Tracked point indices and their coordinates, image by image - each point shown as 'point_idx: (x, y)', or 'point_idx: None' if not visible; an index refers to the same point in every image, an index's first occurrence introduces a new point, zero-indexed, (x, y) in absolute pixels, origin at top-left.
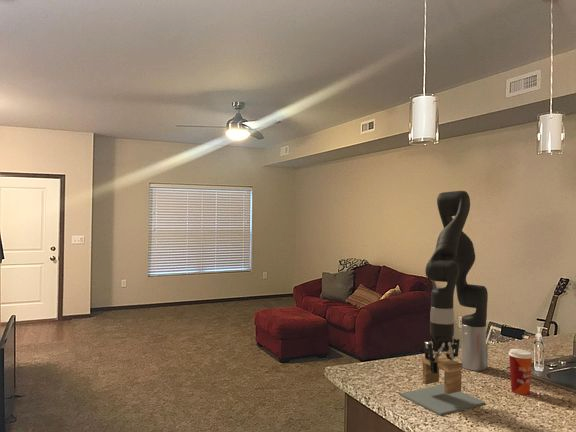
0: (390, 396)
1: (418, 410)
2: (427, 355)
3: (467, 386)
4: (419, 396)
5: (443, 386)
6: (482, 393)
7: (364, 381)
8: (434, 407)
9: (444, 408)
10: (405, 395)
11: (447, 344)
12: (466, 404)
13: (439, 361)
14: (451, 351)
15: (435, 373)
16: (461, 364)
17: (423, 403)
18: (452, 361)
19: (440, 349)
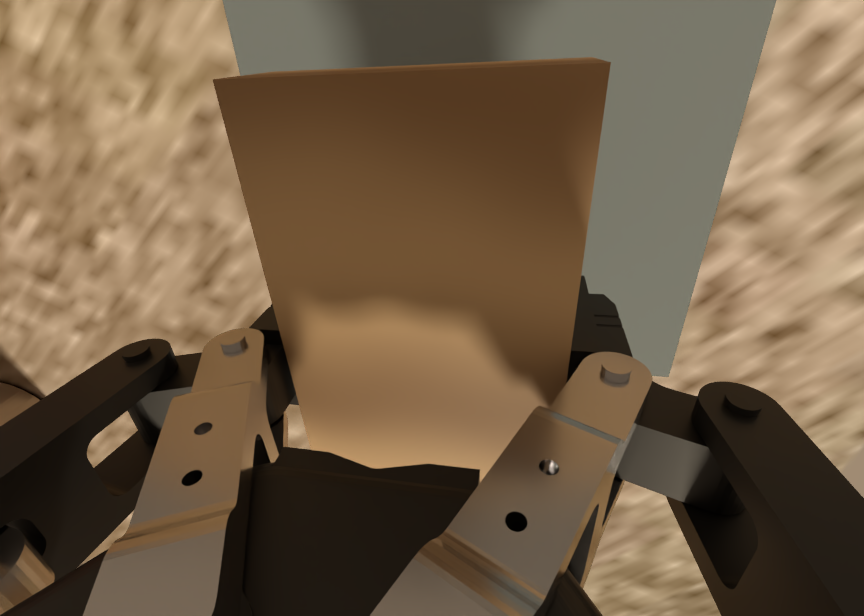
0: (735, 382)
1: (826, 116)
2: (724, 525)
3: (176, 278)
4: (599, 287)
5: None
6: (142, 155)
7: (655, 552)
8: (697, 73)
9: (641, 13)
10: (667, 339)
11: (222, 608)
12: (397, 3)
13: (517, 355)
14: (207, 411)
15: (583, 277)
16: (248, 77)
17: (694, 181)
18: (316, 262)
19: (542, 532)
